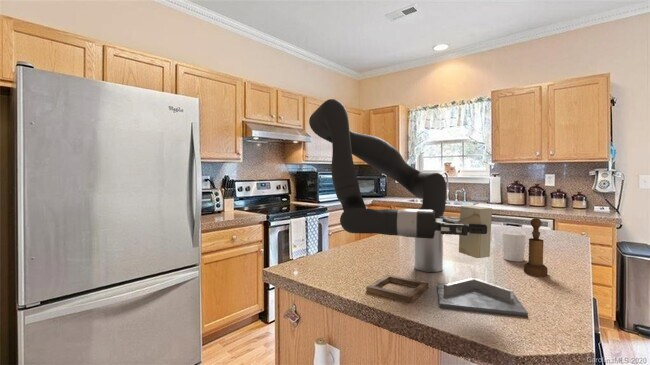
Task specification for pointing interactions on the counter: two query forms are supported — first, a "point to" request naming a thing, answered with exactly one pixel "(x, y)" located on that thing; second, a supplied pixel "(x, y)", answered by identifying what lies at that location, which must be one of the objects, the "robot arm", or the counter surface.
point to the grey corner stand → (479, 297)
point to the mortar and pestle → (535, 252)
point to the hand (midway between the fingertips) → (484, 226)
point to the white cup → (513, 245)
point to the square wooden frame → (408, 297)
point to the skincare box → (475, 242)
